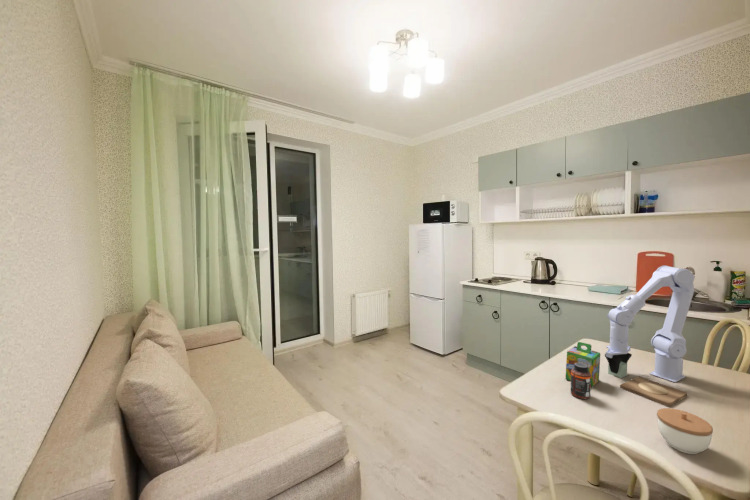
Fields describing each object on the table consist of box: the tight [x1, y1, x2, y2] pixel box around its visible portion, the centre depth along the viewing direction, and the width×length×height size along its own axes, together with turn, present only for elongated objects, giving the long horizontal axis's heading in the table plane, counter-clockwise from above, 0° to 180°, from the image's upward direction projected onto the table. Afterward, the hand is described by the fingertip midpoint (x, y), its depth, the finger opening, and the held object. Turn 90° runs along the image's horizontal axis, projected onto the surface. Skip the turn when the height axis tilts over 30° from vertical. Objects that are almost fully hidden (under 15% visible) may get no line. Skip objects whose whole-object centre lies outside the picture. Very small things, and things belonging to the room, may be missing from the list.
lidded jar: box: [656, 407, 714, 455], centre depth 84 cm, size 11×11×9 cm
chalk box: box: [565, 341, 601, 389], centre depth 120 cm, size 9×9×15 cm
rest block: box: [607, 362, 628, 379], centre depth 124 cm, size 4×4×5 cm
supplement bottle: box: [570, 363, 592, 400], centre depth 110 cm, size 6×6×11 cm
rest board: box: [619, 375, 688, 408], centre depth 111 cm, size 14×14×1 cm
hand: (617, 371), depth 125 cm, fingers closed on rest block, 4 cm apart
